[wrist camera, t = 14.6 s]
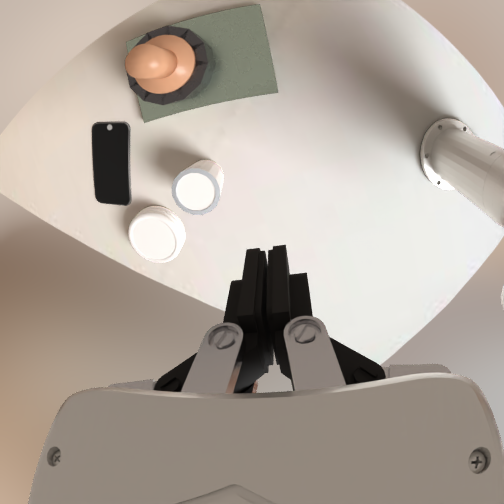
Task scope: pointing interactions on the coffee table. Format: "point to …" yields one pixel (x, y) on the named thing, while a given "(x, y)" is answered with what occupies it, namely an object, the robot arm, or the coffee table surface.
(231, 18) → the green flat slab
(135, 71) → the cap
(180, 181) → the white grey cylinder
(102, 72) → the coffee table surface
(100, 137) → the smartphone
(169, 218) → the white short cylinder
